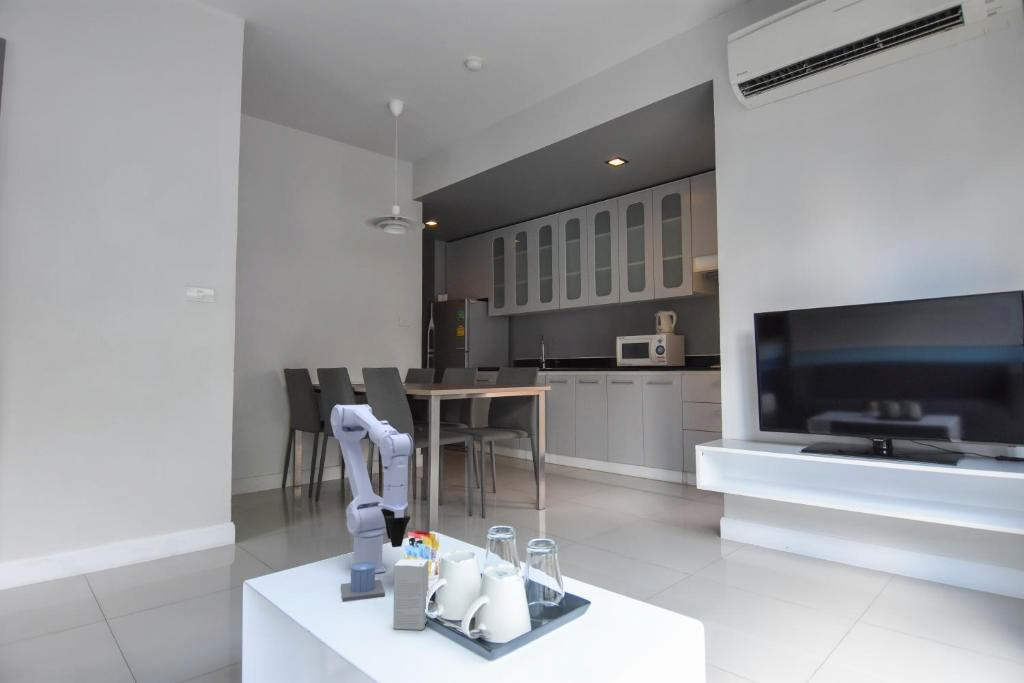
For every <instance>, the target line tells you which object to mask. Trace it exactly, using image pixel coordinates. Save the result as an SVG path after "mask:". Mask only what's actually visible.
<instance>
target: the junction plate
mask: <svg viewBox="0 0 1024 683" xmlns="http://www.w3.org/2000/svg"><path fill="white" fill-rule="evenodd" d="M340 590H341V591H340V593H341V599H342V602H350V601H351V602H352V601H357V600H366V599H374V598H375V599H376V598H383V597H386V591H385V589H384V586H383V583H382V580H381V579H375V588H374V589H373V590H371V591H368V592H361V593H359V592H353V591H351V582H346V583H341V584H340Z"/></svg>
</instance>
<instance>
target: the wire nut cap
mask: <svg viewBox="0 0 1024 683" xmlns="http://www.w3.org/2000/svg"><path fill="white" fill-rule="evenodd" d="M375 580H376V573H375V564H374V563H371V562H360V563H356V564H353V565H352V566H351V565H350V583H351V591H353V592H359V593H361V592H368V591H371V590H373V589H374V588H375Z"/></svg>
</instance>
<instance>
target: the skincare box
mask: <svg viewBox="0 0 1024 683" xmlns="http://www.w3.org/2000/svg"><path fill="white" fill-rule="evenodd" d="M427 591H428V592H429V559H415V558H413V559H410V558H409V559H408V558H407V559H406V558H400V559H399V560H398V561H397V562H396V563H395V564H394V565H393V622H392V623H393V625H392V626H393V627H392V628H393V630H417V631H423V630H424V629H425V628H426V626H425V618H426V613H425V609H426V596H427Z"/></svg>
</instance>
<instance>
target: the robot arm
mask: <svg viewBox="0 0 1024 683" xmlns="http://www.w3.org/2000/svg"><path fill="white" fill-rule="evenodd" d="M330 425H331V428H332V433H333V436H334V438H335V439H336V440H338V441H339V446H340V449H341V454H342V457H343V461H344V464H345V469H346V473H347V476H348V480H349V481H348V482H349V485H350V489H351V493H352V498H353V499H352V501H350V503H349V504H348V505H347V507H346V509H345V512H346V513H345V514H346V526H347V530H348V532H349V533H350V534H351V536H353V556H352V557H353V560H352V562H350V565H349V566H350V567H351V566H352V565H353V564H356V563H360V562H371V563H374V564H375V574H380V573H385V572H386V567H385V566H384V563H383V550H384V549H383V545H384V544H383V543H384V541H383V540H384V539H383V538H384V537H383V536H384V534H385V533H386V535H387V539H389V540H390V544H391V547H392V548H401V547H403V546H402V545H403V541H404V537H405V532H406V530H407V529H406V528H407V526H408V524H409V522H410V520H411V516H410V515H405V510H406V509H407V507H409V501H408V491H409V490H408V486H409V484H408V483H409V482H408V481H409V480H408V479H409V478H408V477H409V457H410V456H411V455H412V454H413V451H414V442H413V439H412V437H411V435H410V434H409V433H408V432H403V433H400V432H399V431H397V429H396V428H393V426H392V425H390V424H389V421H388V420H378V419H377V417H375V415H373V409H372V407H370V405H369V404H366V403H363V404H336V405H334V407H333V408H332V410H331V413H330ZM367 433H368V436H369V439H370V440H371V441H372V442H373V443H374V444H375V445H376V446H377V447H378V448H379V453H380V456H381V465H382V466H383V494H382V496H383V497H381V496H380V495H377V493H374V491H373V487H372V484H371V479H370V476H369V475H370V474H369V472H368V468H367V464H366V461H365V458H364V454H363V450H362V446H361V443H360V441H361V440H362V439H364V438H365V437H366V435H367Z"/></svg>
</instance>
